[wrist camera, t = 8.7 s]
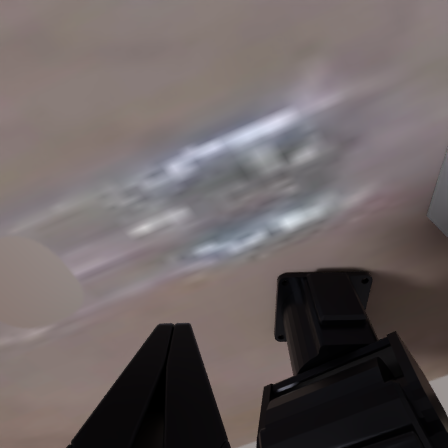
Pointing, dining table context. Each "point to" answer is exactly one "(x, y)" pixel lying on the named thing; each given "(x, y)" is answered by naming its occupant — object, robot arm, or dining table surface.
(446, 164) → the trap deck
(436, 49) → the dining table surface
